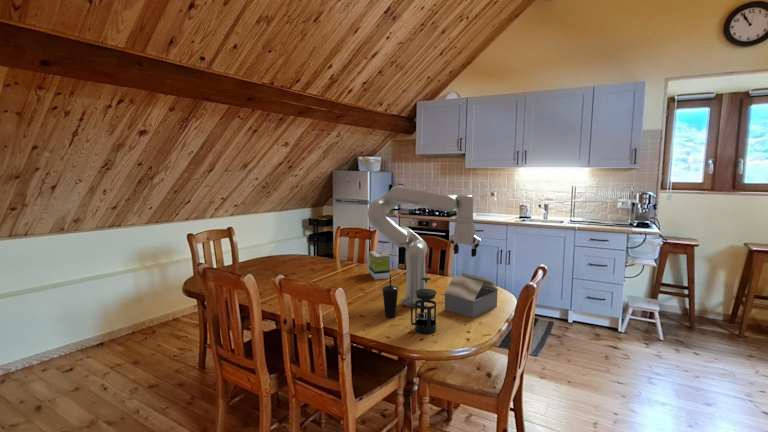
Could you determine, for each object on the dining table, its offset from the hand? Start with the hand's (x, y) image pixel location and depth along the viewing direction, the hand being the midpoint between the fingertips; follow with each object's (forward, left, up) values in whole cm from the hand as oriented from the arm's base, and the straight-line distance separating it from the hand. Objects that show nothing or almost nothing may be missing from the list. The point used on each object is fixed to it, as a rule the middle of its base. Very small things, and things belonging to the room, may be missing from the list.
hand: (464, 254), depth 201 cm
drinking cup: (-35, +18, -27) cm, 47 cm away
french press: (-36, -3, -27) cm, 45 cm away
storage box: (+1, -3, -27) cm, 27 cm away
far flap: (+8, -3, -15) cm, 17 cm away
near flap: (-5, -3, -15) cm, 16 cm away
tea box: (+10, +70, -27) cm, 75 cm away
